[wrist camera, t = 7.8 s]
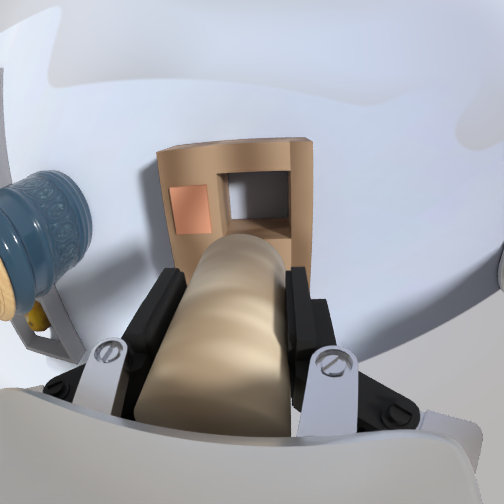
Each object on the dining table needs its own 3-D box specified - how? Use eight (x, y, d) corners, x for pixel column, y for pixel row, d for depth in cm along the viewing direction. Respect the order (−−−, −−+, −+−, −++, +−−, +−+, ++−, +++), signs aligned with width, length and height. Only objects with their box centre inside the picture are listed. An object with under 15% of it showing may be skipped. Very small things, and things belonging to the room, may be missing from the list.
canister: (113, 228, 29) (11, 327, 13) (65, 277, 33) (-9, 360, 18) (54, 145, 25) (-68, 193, 9) (16, 208, 29) (-71, 268, 13)
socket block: (305, 137, 24) (313, 141, 19) (302, 315, 33) (305, 347, 28) (176, 145, 25) (154, 152, 20) (202, 315, 34) (192, 345, 29)
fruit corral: (53, 282, 34) (40, 295, 31) (86, 350, 40) (77, 364, 37) (5, 279, 35) (-6, 289, 32) (35, 338, 42) (26, 349, 38)
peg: (285, 232, 12) (296, 399, 5) (285, 308, 14) (287, 464, 7) (193, 235, 12) (109, 382, 5) (205, 307, 14) (161, 452, 7)
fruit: (19, 280, 35) (7, 291, 32) (52, 304, 36) (40, 317, 33) (23, 311, 39) (13, 322, 36) (54, 333, 40) (44, 346, 37)
